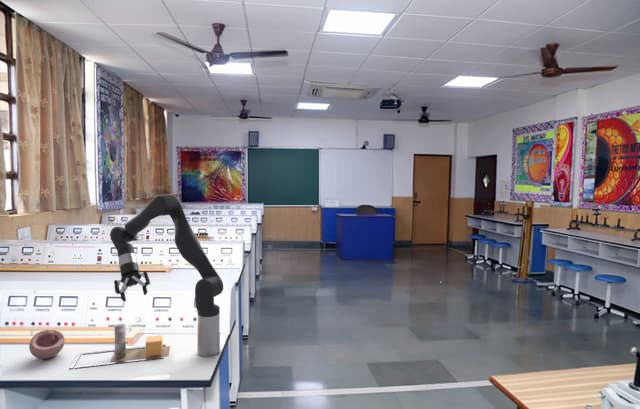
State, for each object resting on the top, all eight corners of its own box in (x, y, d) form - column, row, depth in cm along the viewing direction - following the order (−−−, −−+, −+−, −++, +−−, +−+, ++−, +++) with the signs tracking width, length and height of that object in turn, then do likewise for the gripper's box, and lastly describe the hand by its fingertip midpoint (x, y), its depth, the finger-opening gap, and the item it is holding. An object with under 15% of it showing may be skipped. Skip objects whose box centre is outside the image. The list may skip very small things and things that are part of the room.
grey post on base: (170, 348, 172) (169, 317, 171) (168, 358, 162) (168, 325, 161) (114, 354, 165) (114, 321, 164) (109, 365, 155) (109, 330, 154)
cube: (162, 348, 169) (162, 335, 168) (161, 354, 163) (161, 340, 162) (147, 350, 167) (147, 336, 166) (145, 356, 161) (145, 342, 161)
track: (165, 348, 173) (165, 344, 173) (163, 362, 160) (163, 357, 160) (78, 357, 162) (78, 353, 162) (69, 373, 149) (69, 368, 149)
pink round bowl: (35, 367, 153) (34, 339, 152) (25, 358, 160) (24, 331, 159) (69, 356, 162) (69, 330, 162) (58, 348, 170) (57, 323, 169)
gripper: (109, 267, 174) (115, 300, 167) (142, 257, 178) (149, 290, 172) (114, 272, 180) (120, 305, 174) (146, 263, 185) (153, 294, 178)
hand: (135, 297), depth 173 cm, fingers open, 8 cm apart
